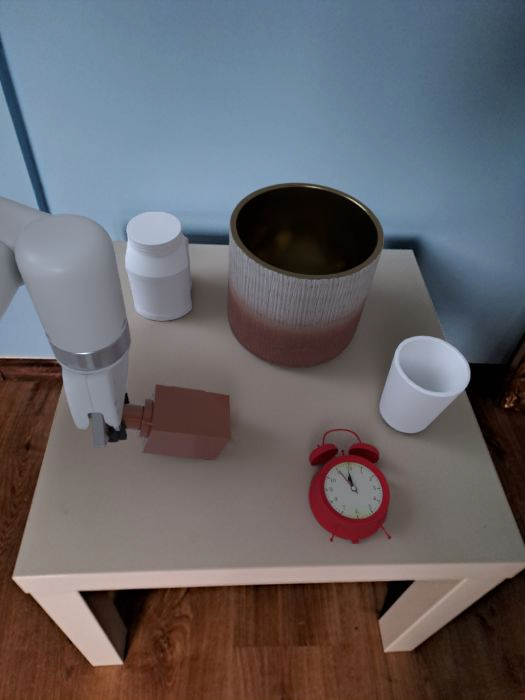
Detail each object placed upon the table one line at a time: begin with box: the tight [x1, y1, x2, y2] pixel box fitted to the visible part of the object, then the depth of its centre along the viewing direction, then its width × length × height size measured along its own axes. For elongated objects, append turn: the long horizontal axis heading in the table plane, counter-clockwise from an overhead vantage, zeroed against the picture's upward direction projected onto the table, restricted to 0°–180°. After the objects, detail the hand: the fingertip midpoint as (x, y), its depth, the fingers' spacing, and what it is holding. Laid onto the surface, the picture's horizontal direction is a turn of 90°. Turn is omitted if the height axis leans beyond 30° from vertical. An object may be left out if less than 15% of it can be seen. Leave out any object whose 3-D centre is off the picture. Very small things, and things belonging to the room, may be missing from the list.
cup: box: [378, 335, 471, 435], centre depth 64 cm, size 10×10×13 cm
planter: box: [227, 182, 385, 369], centre depth 72 cm, size 22×22×20 cm
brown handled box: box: [121, 383, 232, 461], centre depth 61 cm, size 7×9×16 cm
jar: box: [124, 210, 193, 322], centre depth 75 cm, size 12×10×15 cm
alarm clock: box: [308, 428, 392, 545], centre depth 60 cm, size 10×6×15 cm
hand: (116, 423), depth 60 cm, fingers closed on brown handled box, 3 cm apart
